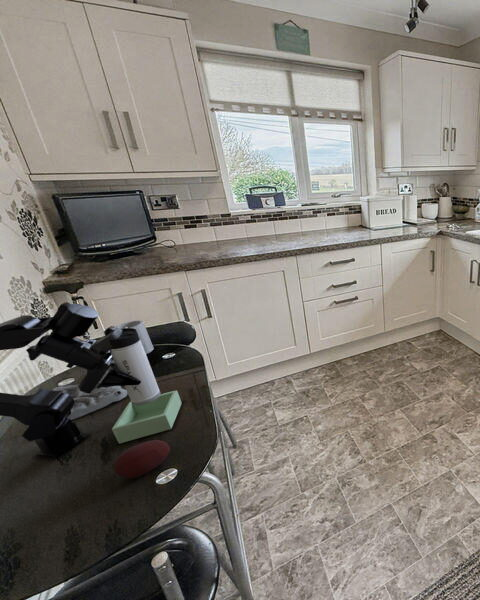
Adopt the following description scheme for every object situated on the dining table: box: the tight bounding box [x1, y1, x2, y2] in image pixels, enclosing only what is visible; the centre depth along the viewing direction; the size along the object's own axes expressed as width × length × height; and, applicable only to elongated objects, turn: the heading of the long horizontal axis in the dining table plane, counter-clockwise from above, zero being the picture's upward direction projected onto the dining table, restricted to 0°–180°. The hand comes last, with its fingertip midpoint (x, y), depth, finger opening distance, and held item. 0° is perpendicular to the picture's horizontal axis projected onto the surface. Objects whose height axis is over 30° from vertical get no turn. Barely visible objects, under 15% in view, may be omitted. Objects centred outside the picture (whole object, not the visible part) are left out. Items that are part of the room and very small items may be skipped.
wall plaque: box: [52, 383, 128, 421], centre depth 103 cm, size 24×19×4 cm
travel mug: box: [104, 327, 162, 406], centre depth 84 cm, size 6×7×20 cm
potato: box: [113, 439, 171, 480], centre depth 73 cm, size 7×10×6 cm
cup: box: [115, 319, 155, 355], centre depth 128 cm, size 9×9×12 cm
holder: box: [111, 390, 183, 444], centre depth 88 cm, size 12×12×5 cm
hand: (143, 376), depth 86 cm, fingers closed on travel mug, 6 cm apart
